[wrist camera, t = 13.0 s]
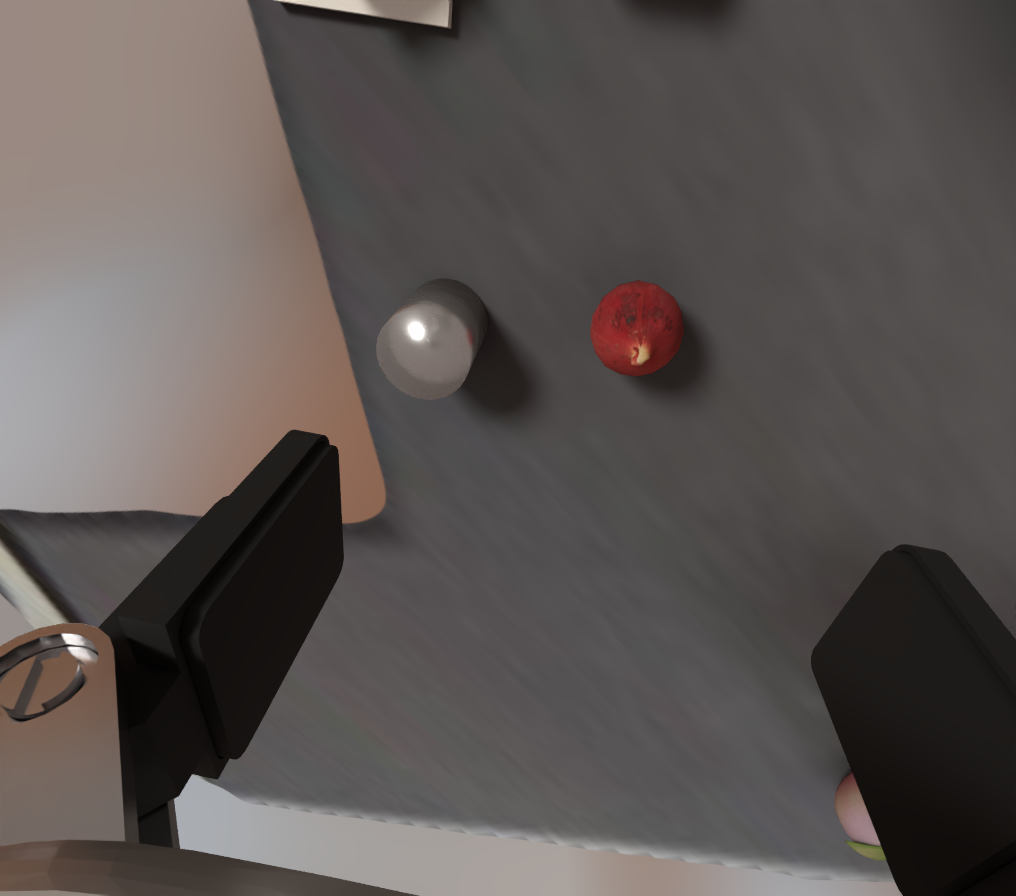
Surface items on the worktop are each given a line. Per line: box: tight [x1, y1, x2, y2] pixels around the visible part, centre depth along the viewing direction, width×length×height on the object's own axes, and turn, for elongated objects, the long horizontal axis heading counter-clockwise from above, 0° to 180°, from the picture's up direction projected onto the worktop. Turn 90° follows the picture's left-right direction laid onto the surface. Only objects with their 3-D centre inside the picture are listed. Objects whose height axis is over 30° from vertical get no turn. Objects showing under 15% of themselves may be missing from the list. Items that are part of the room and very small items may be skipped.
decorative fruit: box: [835, 772, 886, 860], centre depth 58 cm, size 9×8×10 cm
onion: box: [590, 281, 684, 376], centre depth 34 cm, size 6×6×8 cm
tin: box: [376, 279, 488, 399], centre depth 37 cm, size 6×6×7 cm
